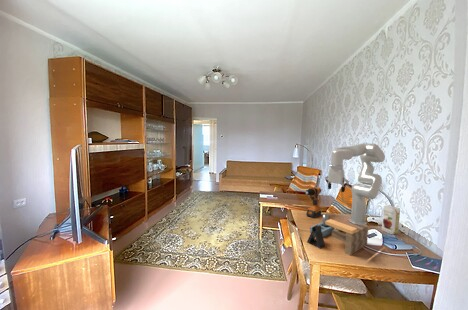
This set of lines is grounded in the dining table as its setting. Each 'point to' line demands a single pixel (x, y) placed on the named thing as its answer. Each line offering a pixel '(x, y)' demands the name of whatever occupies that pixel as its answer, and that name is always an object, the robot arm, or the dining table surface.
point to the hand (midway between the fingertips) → (336, 190)
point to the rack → (324, 229)
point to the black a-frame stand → (319, 237)
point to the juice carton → (390, 219)
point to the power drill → (314, 202)
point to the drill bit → (325, 218)
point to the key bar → (341, 226)
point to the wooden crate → (352, 238)
